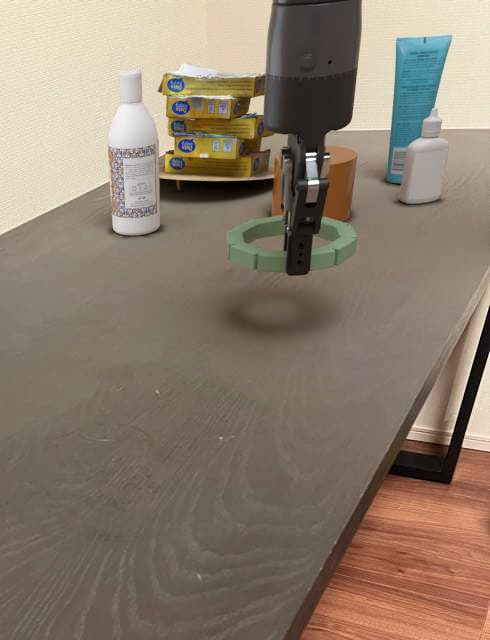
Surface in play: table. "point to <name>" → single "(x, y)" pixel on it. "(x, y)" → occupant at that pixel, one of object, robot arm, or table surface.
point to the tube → (413, 93)
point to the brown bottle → (338, 178)
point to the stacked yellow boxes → (214, 126)
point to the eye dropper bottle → (425, 164)
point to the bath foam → (133, 162)
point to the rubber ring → (276, 260)
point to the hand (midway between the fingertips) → (295, 268)
